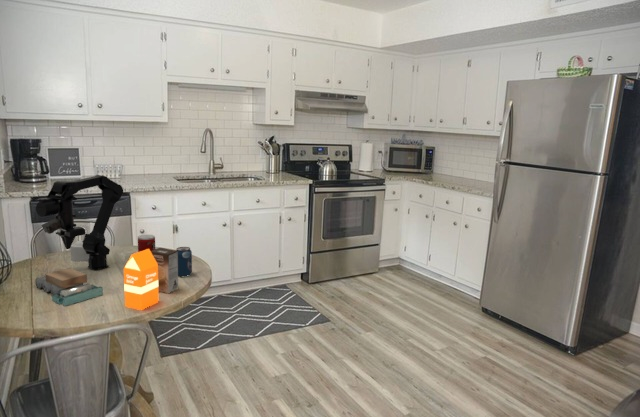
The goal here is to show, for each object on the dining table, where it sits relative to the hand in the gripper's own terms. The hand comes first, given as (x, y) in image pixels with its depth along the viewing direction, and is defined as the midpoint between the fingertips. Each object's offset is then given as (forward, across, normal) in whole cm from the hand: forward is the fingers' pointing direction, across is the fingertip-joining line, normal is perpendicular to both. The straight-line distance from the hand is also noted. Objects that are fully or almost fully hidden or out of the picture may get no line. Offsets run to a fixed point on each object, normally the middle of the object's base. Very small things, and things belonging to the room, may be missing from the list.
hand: (67, 249), depth 181 cm
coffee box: (+13, +41, +16) cm, 46 cm away
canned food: (+13, +1, +36) cm, 38 cm away
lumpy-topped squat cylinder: (+13, -20, +18) cm, 30 cm away
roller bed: (+12, +15, -9) cm, 21 cm away
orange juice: (+12, +47, +2) cm, 49 cm away
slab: (+8, +15, -9) cm, 19 cm away
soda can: (+13, +33, +32) cm, 48 cm away
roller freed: (+12, +22, -9) cm, 27 cm away
